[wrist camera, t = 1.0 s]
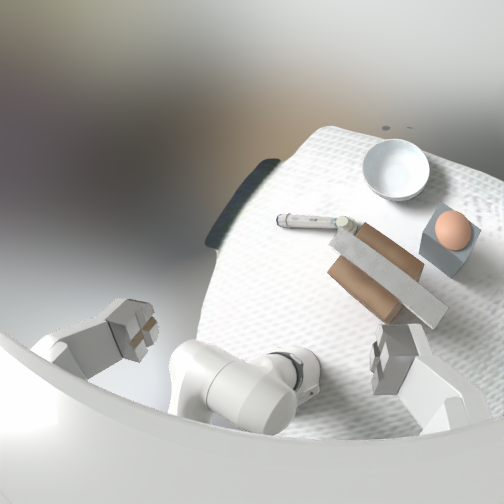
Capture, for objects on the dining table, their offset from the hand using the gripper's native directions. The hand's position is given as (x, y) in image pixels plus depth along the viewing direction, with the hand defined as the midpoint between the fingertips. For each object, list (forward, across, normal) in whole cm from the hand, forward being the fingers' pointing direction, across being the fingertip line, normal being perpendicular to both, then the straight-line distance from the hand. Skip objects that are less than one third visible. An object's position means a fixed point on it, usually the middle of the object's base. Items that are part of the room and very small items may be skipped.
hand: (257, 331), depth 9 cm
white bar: (+35, +16, -16) cm, 41 cm away
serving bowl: (+76, +28, -4) cm, 81 cm away
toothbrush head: (+74, +3, -20) cm, 76 cm away
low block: (+58, +39, -20) cm, 72 cm away
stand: (+55, +22, -31) cm, 67 cm away
